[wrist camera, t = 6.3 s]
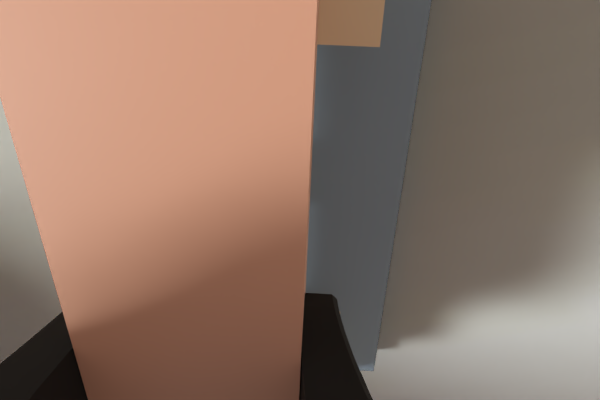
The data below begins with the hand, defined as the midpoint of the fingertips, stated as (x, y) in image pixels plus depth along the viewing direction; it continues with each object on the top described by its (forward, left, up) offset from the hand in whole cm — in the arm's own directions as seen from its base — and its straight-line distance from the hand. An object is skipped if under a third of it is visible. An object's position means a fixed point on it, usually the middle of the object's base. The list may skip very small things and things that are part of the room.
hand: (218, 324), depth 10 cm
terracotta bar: (0, 0, -3) cm, 3 cm away
